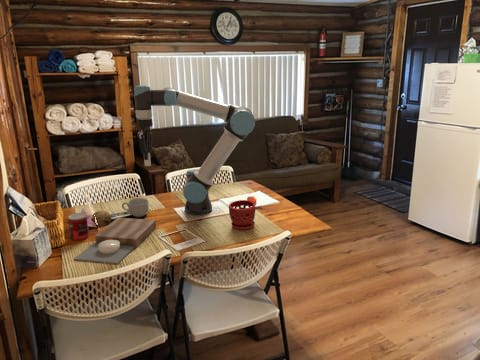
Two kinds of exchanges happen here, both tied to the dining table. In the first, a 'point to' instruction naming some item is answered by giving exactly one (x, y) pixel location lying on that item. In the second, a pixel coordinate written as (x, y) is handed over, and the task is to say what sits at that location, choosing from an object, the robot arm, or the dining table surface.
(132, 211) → the teacup
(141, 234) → the serving board
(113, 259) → the mat
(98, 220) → the coconut
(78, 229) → the canned food
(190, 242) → the photo frame
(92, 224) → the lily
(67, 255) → the dining table surface
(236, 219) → the plant pot
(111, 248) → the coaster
